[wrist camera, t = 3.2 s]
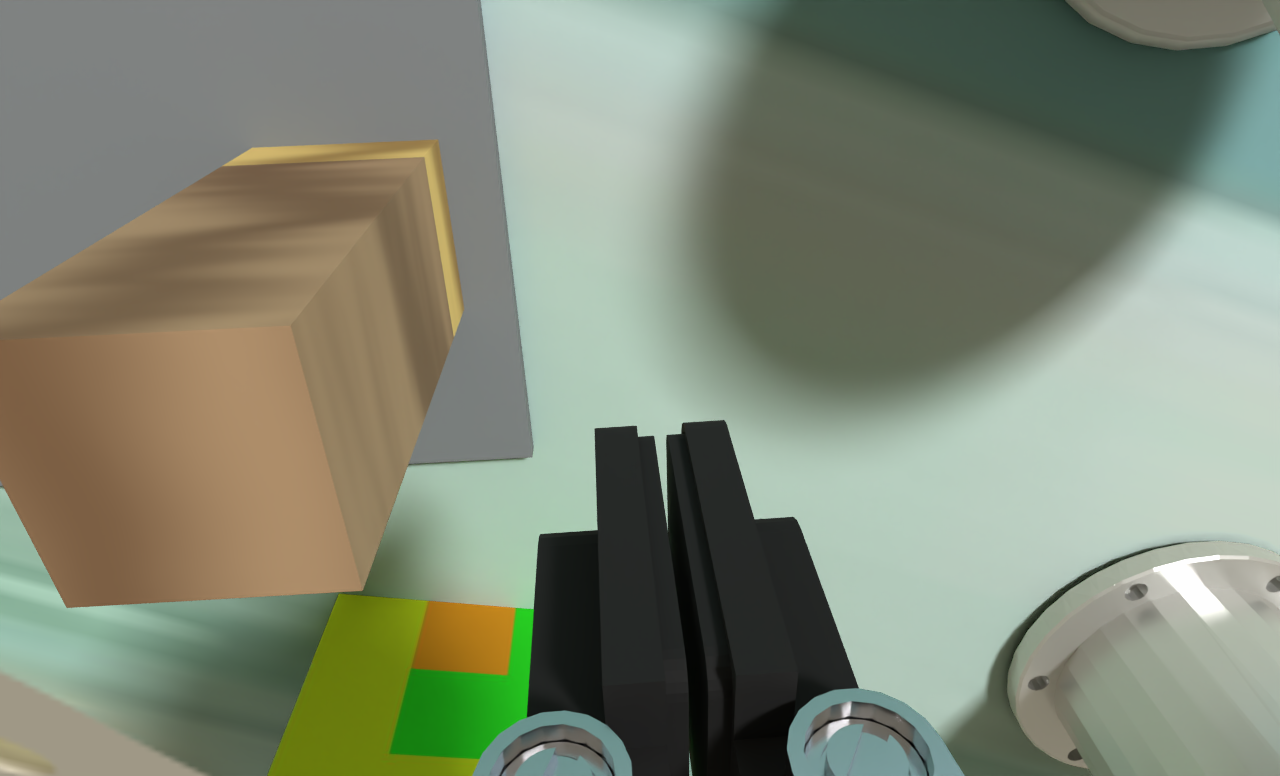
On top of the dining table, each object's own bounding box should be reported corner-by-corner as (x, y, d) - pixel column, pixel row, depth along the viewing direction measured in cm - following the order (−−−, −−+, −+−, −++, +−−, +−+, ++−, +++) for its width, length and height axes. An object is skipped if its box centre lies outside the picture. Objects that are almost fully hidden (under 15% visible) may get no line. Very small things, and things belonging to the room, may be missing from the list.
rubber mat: (468, -99, 20) (465, -100, 19) (533, 447, 27) (532, 457, 27) (-372, -67, 19) (-399, -68, 19) (-62, 479, 27) (-75, 490, 26)
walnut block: (438, 139, 22) (290, 325, 11) (464, 308, 24) (363, 590, 14) (252, 147, 22) (-72, 343, 11) (297, 317, 24) (67, 607, 14)
